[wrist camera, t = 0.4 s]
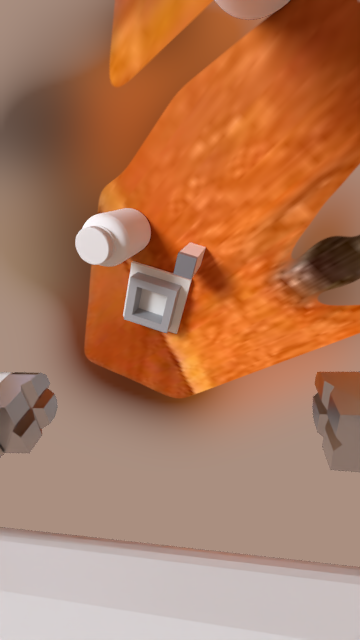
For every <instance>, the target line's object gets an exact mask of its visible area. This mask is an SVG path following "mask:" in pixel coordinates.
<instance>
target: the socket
mask: <svg viewBox="0 0 360 640" xmlns="http://www.w3.org/2000/svg"><path fill="white" fill-rule="evenodd" d="M191 281H192V279H187V278H184V277H181V276H178V275H175V274H173V273H171V272H168V271H164V270H161V269H158V268H155V267H151V266H148V265H145V264H142V263H139V262H135V261H133V262H132V263H131V269H130V275H129V282H128V288H127V294H126V300H125V307H124V313H123V316H124V319H125V320H128V321H131V322H134V323H137V324H140V325H143V326H146V327H149V328H152V329H155V330H158V331H161V332H164V333H167V332H168V331H169V332H172V333H175V334H177V332H178V329H179V325H180V322H181V318H182V314H183V311H184V307H185V303H186V299H187V296H188V292H189V288H190V285H191Z"/></svg>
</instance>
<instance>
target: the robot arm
mask: <svg viewBox="0 0 360 640" xmlns="http://www.w3.org/2000/svg"><path fill="white" fill-rule="evenodd" d="M289 1H290V0H215V2H216V3H217V4H218V5H219V7H221V8H222V9H223V10H224V11H225V12H226V13H228V14H229V15H231V16H233V17H236V18H239V19H245V20H254V19H260V18H263V17H266V16H268V15H270V14H273V13H274V12H276V11H278V10H279V9H281V8H282V7H283V6H284V5H286V4H287V3H288V2H289ZM49 384H50V382H49V380H48V378H47V376H46V375H45V374H42V373H23V372H15V373H12V372H10V373H9V372H1V373H0V457H1V456H2V455H4V453H30V451H31V450H32V448H33V447H34V446H35V444H36V443H37V442H38V440H39V439H40V437H41V436H42V428H44V427H46V426H47V425H49V424H50V423H51V421H52V420H53V418H54V417H55V414H56V411H57V399H56V396H55V394H54V393H53V392H52V391H51V390H49V389H48V387H49ZM315 386H316V388H317V391H318V393H317V394H316V395H315V396H314V397H313V406H312V407H313V418H314V423H315V426H316V429H317V432H318V433H319V434H320V435H322V436H323V444H322V447H323V450H324V453H325V456H326V459H327V461H328V465H329V467H330V469H331V470H338V471H351V472H360V371H358V372H317V375H316V379H315ZM0 640H360V567H356V566H347V565H338V564H328V563H320V562H310V561H302V560H292V559H284V558H275V557H266V556H257V555H248V554H239V553H229V552H221V551H212V550H203V549H194V548H185V547H175V546H168V545H158V544H150V543H141V542H140V543H139V542H132V541H122V540H114V539H104V538H96V537H87V536H77V535H67V534H59V533H50V532H40V531H32V530H23V529H14V528H5V527H0Z"/></svg>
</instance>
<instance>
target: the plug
mask: <svg viewBox="0 0 360 640" xmlns="http://www.w3.org/2000/svg"><path fill="white" fill-rule="evenodd" d="M205 248H206V247H204V246H200V245H197V244H193V243H189V244H188V245H187V246H185V247H184V248H183V249H182V250H181V251H180V252H179V253H178V256H177V260H176V264H175V269H174V273H173V274H175V275H178V276H181V277H184V278H187V279H192V278H193V276H194V275H195V273H196V272H197V270H198V269H199V267H200V266H201V263H202V259H203V256H204V252H205Z"/></svg>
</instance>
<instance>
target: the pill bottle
mask: <svg viewBox="0 0 360 640" xmlns="http://www.w3.org/2000/svg"><path fill="white" fill-rule="evenodd" d="M150 237H151V228H150V224H149V222H148V220H147V218H146V217H145V216H144V215H143V214H142V213H141V212H139V211H137V210H135V209H131V208H125V209H120V210H115V211H110V212H105V213H101V214H97V215H94V216H92V217H90V218H89V219H88V220H87V221H86V223H85V224H84V226H83V228H82V230H80V232H79V233H78V234H77V237H76V249H77V252H78V254H79V255H80V256H81V258H82V259H83V260H85V261H86V262H87V263H90V264H92V265H102V266H116V265H118V264H120V263H122V262H124V261H125V260H127V259H128V258H130V257H132V256H133V255H135V254H137V253H138V252H140V251H141V250H143V249H144V248H145V247H146V246H147V244H148V243H149V241H150Z"/></svg>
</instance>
